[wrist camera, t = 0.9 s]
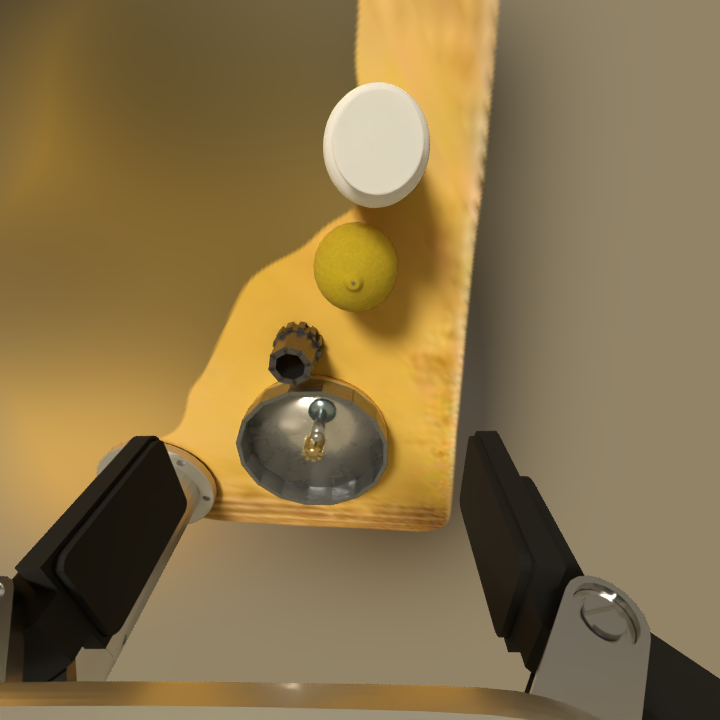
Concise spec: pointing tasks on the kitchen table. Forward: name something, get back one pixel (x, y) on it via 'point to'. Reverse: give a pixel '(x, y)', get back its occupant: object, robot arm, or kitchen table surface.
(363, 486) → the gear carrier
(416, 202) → the kitchen table surface
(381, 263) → the lemon
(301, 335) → the gear
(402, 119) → the supplement bottle
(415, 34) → the kitchen table surface
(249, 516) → the kitchen table surface
